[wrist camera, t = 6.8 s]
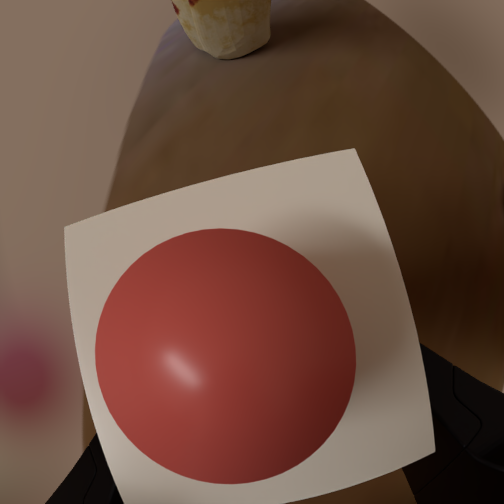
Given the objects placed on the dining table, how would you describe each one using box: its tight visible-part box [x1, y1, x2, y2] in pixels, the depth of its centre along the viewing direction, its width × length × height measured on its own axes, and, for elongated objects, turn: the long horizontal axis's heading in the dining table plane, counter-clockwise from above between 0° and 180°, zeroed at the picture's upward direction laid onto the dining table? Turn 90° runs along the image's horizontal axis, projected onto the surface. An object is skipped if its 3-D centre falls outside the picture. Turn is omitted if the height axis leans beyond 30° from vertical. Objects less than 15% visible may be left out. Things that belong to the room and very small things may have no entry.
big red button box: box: [64, 148, 435, 504], centre depth 9 cm, size 5×5×12 cm
